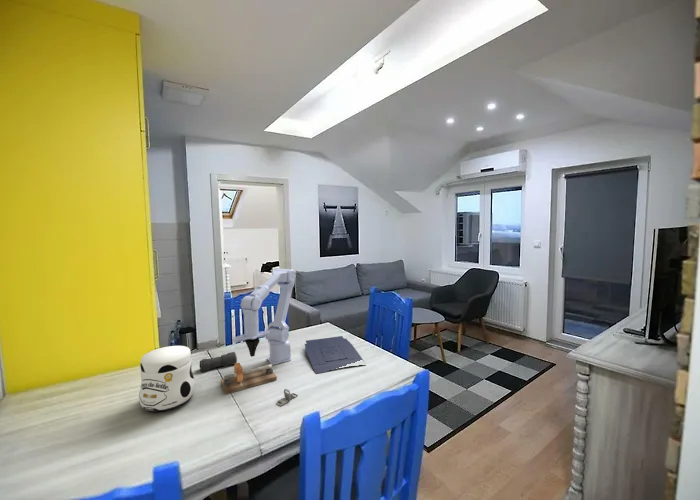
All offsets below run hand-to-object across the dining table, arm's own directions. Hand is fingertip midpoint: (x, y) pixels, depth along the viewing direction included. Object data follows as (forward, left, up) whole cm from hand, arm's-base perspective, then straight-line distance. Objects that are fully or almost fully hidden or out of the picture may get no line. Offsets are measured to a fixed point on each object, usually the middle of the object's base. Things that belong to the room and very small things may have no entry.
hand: (252, 355), depth 126 cm
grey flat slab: (-39, 0, -10) cm, 40 cm away
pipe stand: (+2, +3, -9) cm, 10 cm away
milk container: (+31, +2, -10) cm, 32 cm away
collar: (+6, +3, -7) cm, 10 cm away
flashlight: (+11, -18, -10) cm, 23 cm away
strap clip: (-6, +24, -10) cm, 27 cm away
